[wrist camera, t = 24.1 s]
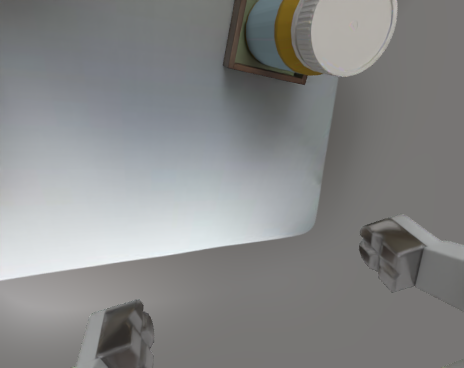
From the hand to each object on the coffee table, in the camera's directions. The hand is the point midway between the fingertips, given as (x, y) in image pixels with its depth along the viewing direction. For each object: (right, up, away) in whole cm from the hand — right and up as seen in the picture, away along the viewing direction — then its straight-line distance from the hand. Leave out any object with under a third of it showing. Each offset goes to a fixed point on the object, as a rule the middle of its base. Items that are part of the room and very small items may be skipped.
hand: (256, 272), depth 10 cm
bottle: (+4, +20, +21) cm, 29 cm away
